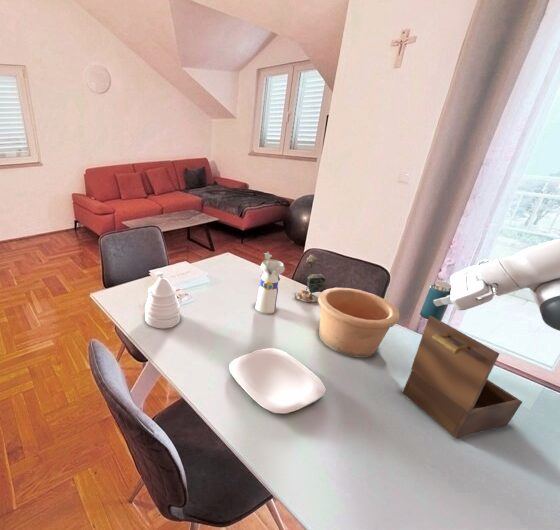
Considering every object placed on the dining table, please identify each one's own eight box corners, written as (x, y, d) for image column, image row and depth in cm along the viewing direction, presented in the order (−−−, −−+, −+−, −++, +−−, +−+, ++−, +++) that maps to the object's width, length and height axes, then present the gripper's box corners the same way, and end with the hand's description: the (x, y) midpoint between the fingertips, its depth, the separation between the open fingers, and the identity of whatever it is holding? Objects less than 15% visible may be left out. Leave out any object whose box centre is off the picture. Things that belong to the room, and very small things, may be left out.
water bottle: (275, 316, 117) (287, 254, 107) (252, 311, 120) (261, 251, 110) (278, 305, 124) (289, 247, 114) (256, 301, 127) (264, 243, 117)
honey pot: (138, 315, 118) (137, 272, 111) (167, 305, 124) (167, 264, 117) (157, 332, 108) (156, 286, 101) (186, 321, 114) (188, 277, 107)
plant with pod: (322, 307, 123) (333, 260, 115) (291, 299, 129) (300, 254, 120) (324, 298, 129) (335, 253, 121) (295, 291, 135) (304, 248, 127)
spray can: (429, 311, 97) (441, 279, 93) (446, 320, 92) (460, 287, 88) (415, 313, 96) (427, 281, 92) (432, 322, 92) (445, 289, 87)
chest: (448, 383, 87) (459, 361, 84) (507, 425, 75) (522, 401, 71) (402, 392, 84) (411, 370, 81) (455, 438, 72) (469, 413, 68)
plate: (272, 425, 75) (273, 420, 74) (219, 367, 92) (220, 363, 92) (335, 395, 83) (336, 390, 82) (275, 347, 101) (276, 342, 100)
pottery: (311, 316, 117) (319, 282, 111) (380, 331, 109) (392, 295, 103) (309, 351, 99) (318, 312, 93) (392, 372, 91) (408, 331, 85)
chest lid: (431, 315, 73) (415, 319, 73) (499, 353, 61) (481, 358, 61) (413, 368, 80) (398, 372, 80) (471, 411, 68) (455, 416, 68)
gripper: (508, 304, 75) (441, 323, 85) (499, 275, 89) (442, 294, 99) (490, 282, 76) (425, 303, 86) (484, 257, 90) (429, 278, 100)
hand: (434, 298), depth 92 cm, fingers closed on spray can, 5 cm apart
